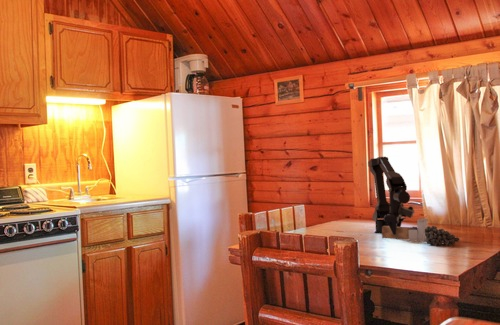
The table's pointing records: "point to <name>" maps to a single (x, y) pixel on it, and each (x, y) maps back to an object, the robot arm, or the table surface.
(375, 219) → the robot arm
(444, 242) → the fruit
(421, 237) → the grey block with legs
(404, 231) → the rail
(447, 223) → the table surface
